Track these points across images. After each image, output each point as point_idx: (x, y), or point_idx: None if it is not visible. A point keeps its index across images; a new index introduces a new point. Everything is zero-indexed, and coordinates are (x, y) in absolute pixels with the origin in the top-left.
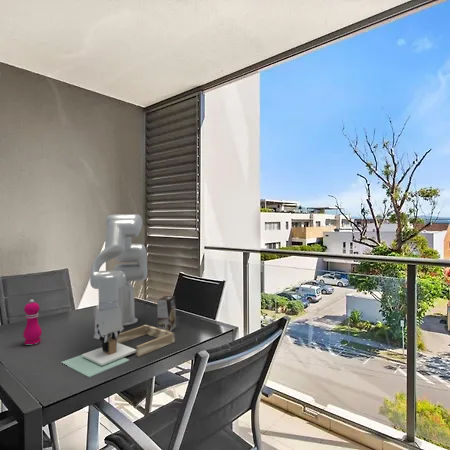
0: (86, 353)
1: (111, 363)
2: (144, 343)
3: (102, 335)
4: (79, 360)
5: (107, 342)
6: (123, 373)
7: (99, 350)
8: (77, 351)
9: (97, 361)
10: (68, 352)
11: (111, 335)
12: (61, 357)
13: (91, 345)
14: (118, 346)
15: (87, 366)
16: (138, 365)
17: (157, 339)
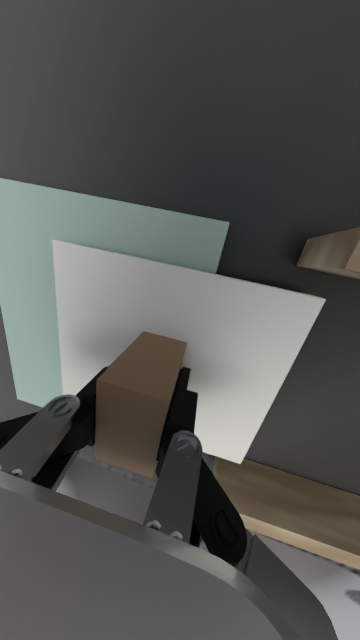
0: (76, 257)
1: None
2: (271, 528)
3: (15, 464)
4: (48, 259)
5: (88, 442)
6: (96, 463)
7: (147, 299)
8: (122, 75)
9: (63, 380)
10: (73, 8)
11: (167, 451)
12: (7, 74)
13: (272, 52)
14: (247, 366)
15: (44, 345)
16: (155, 479)
17: (356, 566)
